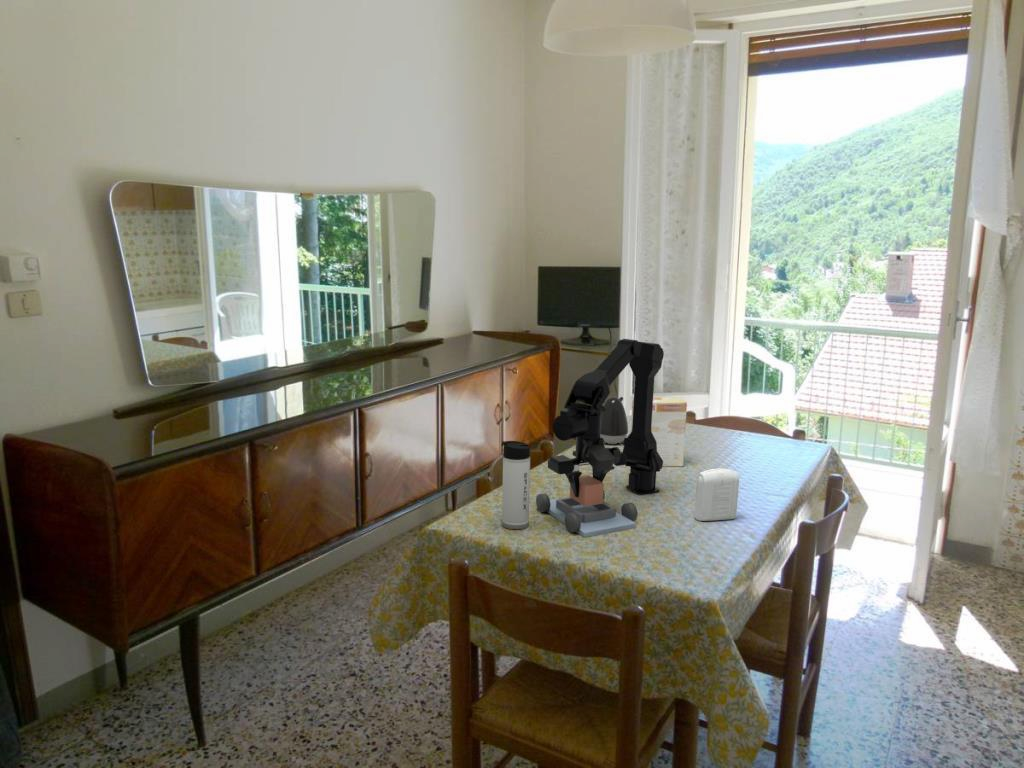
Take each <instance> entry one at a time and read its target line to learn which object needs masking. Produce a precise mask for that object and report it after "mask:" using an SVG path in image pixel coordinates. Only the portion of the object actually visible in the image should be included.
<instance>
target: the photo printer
mask: <svg viewBox="0 0 1024 768" xmlns="http://www.w3.org/2000/svg"><path fill="white" fill-rule="evenodd" d="M739 486H740V477H739V473H738V472H736V471H735V470H733V469H730V468H729V469H728V468H722V467H721V468H720V467H719V468H712V469H707V470H703V471H701V472H700V473H698V475H697V477H696V486H695V488H696V489H695V502H694V519H695V520H697V521H699V522H703V521H704V522H706V521H707V522H710V521H722V520H724V521H725V520H735V519H736V518H737V512H738V511H737V510H738V498H739Z"/></svg>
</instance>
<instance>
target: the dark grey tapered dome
mask: <svg viewBox="0 0 1024 768" xmlns="http://www.w3.org/2000/svg"><path fill="white" fill-rule="evenodd" d="M622 401H624V397H623V396H620V397H619V398H618V397H616V396H609V397H607V398H606V400H605V401H604V403H603V404H602V405H603V406H604V407H605V408H606V411H604V412H601V434H600V437H602V438H603V440H604V444H606V443H608V444H607V445H618V444H617V443H619V444H621V443H622V442H623V443H624V439H625V438H627V435H628V433H629V426H628V424H629V423H628V418H627V412H626V410H625V406H624V405H623V402H622Z"/></svg>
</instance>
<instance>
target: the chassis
mask: <svg viewBox="0 0 1024 768" xmlns="http://www.w3.org/2000/svg"><path fill="white" fill-rule="evenodd" d="M605 496H606V495H605V490H604V488H603V504H597V505H591V506H583V505H582V504H580V503H579V502H577V501H575V500H574V499H572V498H571V497H570V496H566V497H561V498H560V497H559V498H554V499H550V496H549V495H548V494H547V493H539V494H537V495H536V498H535V506H536V507H537V510H538V512H540V513H545V512H546V513H548V514H549V515H551V516H552V517H554V518H555V519H557V520H558V521H560V522H561V523H563V524H564V525H565V528H566V530H567V532H569V533H578V534H579V535H581V536H582V537H583V538H588V537H592V536H593V537H594V536H599V535H604V534H609V533H615V532H619V531H624V530H630V529H634V528H637V523H636V520H637V519H638V513H639V512H638V508H637V506H636V505H635V504H634V503H633V502H625V503H623V504H622V505H621V508H620V513H619V512H617V508H615V507H614V506H613V505H611V504H609V503H607V502H606V501H605V498H606V497H605Z"/></svg>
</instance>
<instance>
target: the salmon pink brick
mask: <svg viewBox="0 0 1024 768" xmlns="http://www.w3.org/2000/svg"><path fill="white" fill-rule="evenodd" d="M569 485H570V484H569ZM604 486H605V485H604V483H603V482H600V481H599V480H597V479H595V478H593V476H591V475H590V474H585V475H581V476H580V477H579V496H578V497H575V495H574V493H573V490H572V488H571V485H570V487H569V497H571V498H572V499H574V500H575V501H577V502H579V503H580V504H582V505H583V506H591V505H597V504H603V502H604V501H603V489H604Z"/></svg>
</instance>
